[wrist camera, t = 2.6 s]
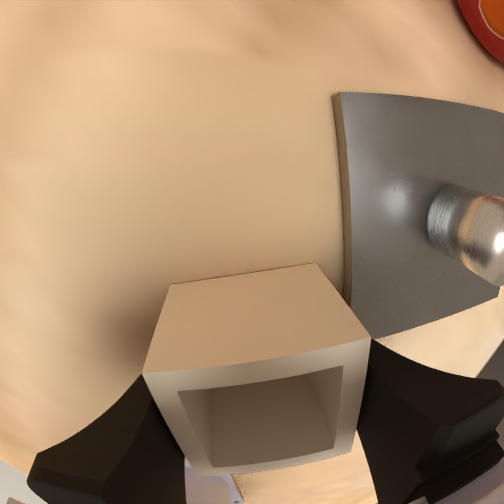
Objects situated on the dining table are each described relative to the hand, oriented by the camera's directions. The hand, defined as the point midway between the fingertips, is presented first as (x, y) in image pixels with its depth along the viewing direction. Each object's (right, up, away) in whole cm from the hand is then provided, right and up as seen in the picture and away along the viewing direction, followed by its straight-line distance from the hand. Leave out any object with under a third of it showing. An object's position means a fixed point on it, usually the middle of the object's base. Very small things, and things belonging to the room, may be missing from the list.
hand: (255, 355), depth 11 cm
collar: (0, 0, +1) cm, 1 cm away
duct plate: (+8, +6, 0) cm, 10 cm away
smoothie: (+13, +17, -3) cm, 21 cm away
